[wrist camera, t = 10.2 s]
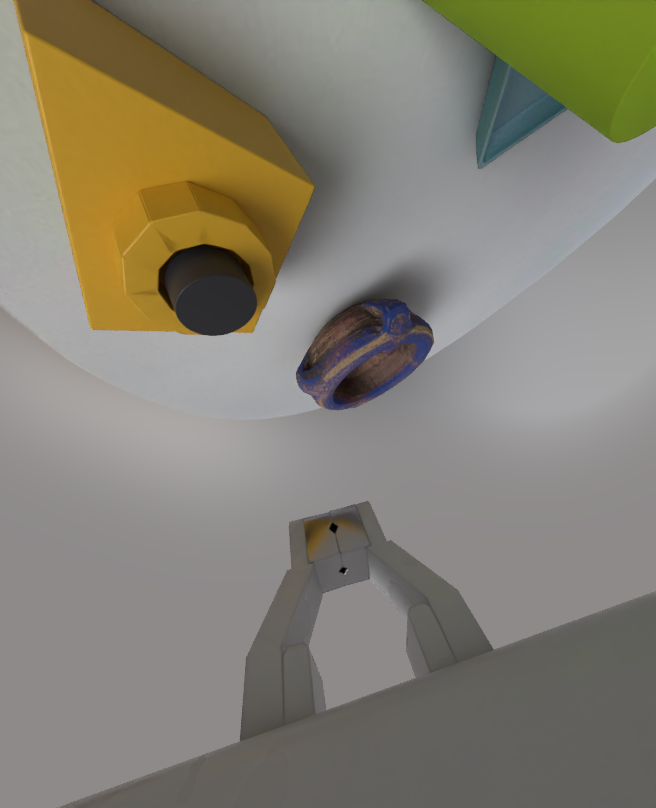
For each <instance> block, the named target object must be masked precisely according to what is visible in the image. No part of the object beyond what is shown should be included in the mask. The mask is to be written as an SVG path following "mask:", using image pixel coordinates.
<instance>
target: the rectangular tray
mask: <svg viewBox="0 0 656 808" xmlns="http://www.w3.org/2000/svg"><path fill="white" fill-rule="evenodd" d="M567 109H568V108H566V107H565V106H564V105H562V104H561V103H560V102H558V101H557V100H556V99H554V98H553V97H552V96H550V95H549V94H548V93H546V92H545V91H543V90H542V89H541V88H539V87H538V86H537V85H535V84H534V83H533V82H531V81H530V80H529V79H527V78H526V77H525V76H523V75H522V74H521V73H519V72H518V71H517V70H515V69H514V68H512V67H511V66H510V65H508V64H507V63H506V62H504V61H503V60H502V59H500V58H499V57H498V56H496V59H495V63H494V67H493V71H492V75H491V79H490V82H489V86H488V90H487V94H486V98H485V102H484V105H483V109H482V113H481V117H480V120H479V124H478V128H477V132H476V155H477V164H478V168H479V169H481V168H483V167H484V166H486V165H487V164H488V163H490V162H491V161H493V160H494V159H496V158H497V157H498V156H500V155H501V154H503V153H504V152H506V151H507V150H508V149H510V148H511V147H513V146H514V145H516V144H517V143H519V142H520V141H521V140H523V139H524V138H526V137H527V136H529V135H530V134H532V133H533V132H535V131H536V130H537V129H539V128H540V127H542V126H543V125H545V124H546V123H548V122H549V121H551V120H552V119H553V118H555V117H556V116H558V115H559V114H561V113H562V112H564V111H565V110H567Z"/></svg>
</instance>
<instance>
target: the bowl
mask: <svg viewBox="0 0 656 808" xmlns="http://www.w3.org/2000/svg"><path fill="white" fill-rule="evenodd" d="M433 343H434V339H433V332H432V329H431V327H430V326H429V324H428V323H427V322H425V321H424V320H423V319H422V318H420V317H419V316H417V315H415V314H414V313H413V312H412V311H410V310H409V309H408V308H407V306H406V303H403V302H401V301H399V300H390V299H379V300H370V301H367V302H364V303H363V304H359V305H355V306H353V307H351V308H350V309H348V310H346V311H345V312H343V313H341V314H339V315H338V316H336V317H335V318H334V319H332V320H331V321H330V322H329V323H327V324H326V325H325V327H324V328H323V329H322V330H321V332H320V333H319V334H318V336H317V337H316V338H315V340H314V342H313V343H312V345H311V346H310V348H309V349H308V351H307V353H306V355H305V356H304V358H303V360H302V362H301V364H300V366H299V367H298V369H297V372H296V379H297V383H298V385H299V387H300V388H301V390H302V391H303V392H305V393H307V394H309V395H311V396H312V397H313V398H314V400H315V401H316V403H317V404H318V405H319V406H321V407H323V408H325V409H328V410H342V409H348V408H355V407H358V406H360V405H362V404H364V403H366V402H368V401H370V400H372V399H374V398H376V397H377V396H379V395H381V394H383V393H384V392H386V391H388V390H389V389H391V388H392V387H394V386H395V385H397V384H398V383H399V382H401V381H402V380H404V379H405V378H406V377H407V376H408V375H410V374H411V373H412V372H413V371H414V370H415V369H416V368H417V367H418V366H419V365H420V364H421V363H422V362H423V361H424V360H425V358H426V356H427V355H428V353H429V351H430V349H431V347H432V345H433Z"/></svg>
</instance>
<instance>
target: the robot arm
mask: <svg viewBox="0 0 656 808" xmlns="http://www.w3.org/2000/svg"><path fill="white" fill-rule="evenodd" d="M289 536H290V551H291V565H292V566H291V567H292V569H290V570H287V572H286V574H285V576H284V579H283V581H282V583H281V585H280V587H279V589H278V591H277V593H276V595H275V598H274V600H273V602H272V604H271V606H270V608H269V610H268V613H267V615H266V617H265V619H264V621H263V623H262V625H261V628H260V630H259V632H258V634H257V636H256V638H255V640H254V642H253V645H252V647H251V649H250V651H249V653H248V655H247V657H246V667H245V681H244V694H243V707H242V720H241V734H240V742H237V743H235V744H232V745H229V746H226V747H224V748H221V749H218V750H215V751H213V752H210V753H207V754H204V755H202V756H199V757H196V758H193V759H190V760H188V761H185V762H182V763H179V764H176V765H174V766H171V767H168V768H166V769H163V770H160V771H157V772H154V773H152V774H149V775H146V776H143V777H141V778H138V779H135V780H132V781H129V782H127V783H124V784H121V785H118V786H116V787H113V788H110V789H107V790H105V791H102V792H99V793H97V794H94V795H91V796H88V797H85V798H83V799H80V800H77V801H74V802H71V803H69V804H66V805H63V806H60V807H58V808H656V591H655V592H652V593H649V594H647V595H644V596H641V597H639V598H636V599H633V600H630V601H628V602H625V603H622V604H619V605H616V606H613V607H611V608H608V609H605V610H602V611H600V612H597V613H594V614H591V615H589V616H586V617H583V618H580V619H578V620H575V621H572V622H569V623H566V624H564V625H561V626H558V627H555V628H553V629H550V630H547V631H544V632H542V633H539V634H536V635H533V636H531V637H528V638H525V639H522V640H520V641H517V642H514V643H511V644H508V645H506V646H503V647H500V648H497V649H495V650H494V649H493V648H492V646H491V644H490V643H489V641H488V640H487V638H486V636H485V635H484V633H483V631H482V629H481V628H480V626H479V624H478V623H477V621H476V619H475V618H474V616H473V615H472V613H471V611H470V609H469V608H468V606H467V604H466V603H465V601H464V599H463V598H462V596H461V594H460V593H459V591H458V590H457V589H456V588H454V587H453V586H452V585H450V584H449V583H448V582H446V581H445V580H444V579H442V578H441V577H440V576H438V575H437V574H436V573H434V572H433V571H432V570H430V569H429V568H427V567H426V566H425V565H423V564H422V563H421V562H419V561H418V560H417V559H415V558H414V557H413V556H411V555H410V554H409V553H407V552H406V551H405V550H403V549H402V548H401V547H399V546H398V545H397V544H395V543H394V542H393V541H391V540H390V541H386V538H385V536H384V534H383V532H382V529H381V527H380V525H379V523H378V520H377V518H376V516H375V513H374V512H373V509H372V507H371V504H370V503H369V502H368V501H366V502H363V503H359V504H356V505H351V506H347V507H344V508H340V509H337V510H333V511H330V512H328V513H324V514H319V515H315V516H311V517H307V518H303V519H299V520H295V521H292V522H289ZM368 579H370V581H371V582H372V583H373V584H374V585H375V586H376V587H377V588H378V589H379V590H380V591H381V592H382V593H383V594H384V596H385V597H386V598H387V599H388V600H389V601H390V602H391V603H392V604H393V605H394V606H395V607H396V608H397V609H398V610H399V611H400V612H401V614H402V615H403V616H404V617H405V618H406V619H407V641H406V642H407V643H406V652H407V655H408V657H409V660H410V663H411V666H412V669H413V671H414V674H415V677H416V678H414V679H412V680H409V681H407V682H404V683H401V684H398V685H395V686H392V687H390V688H387V689H384V690H381V691H378V692H376V693H373V694H370V695H367V696H365V697H362V698H359V699H357V700H354V701H351V702H348V703H345V704H342V705H340V706H337V707H334V708H331V709H329V710H326V704H325V697H324V691H323V683H322V678H321V676H320V674H319V671H318V669H317V666H316V664H315V661H314V659H313V656H312V654H311V652H310V649H309V647H308V646H309V642H310V639H311V636H312V632H313V628H314V625H315V621H316V618H317V614H318V610H319V607H320V603H321V600H322V596H323V595H322V594H323V593H325V592H328V591H331V590H334V589H337V588H340V587H343V586H346V585H350V584H353V583H357V582H361V581H364V580H368Z"/></svg>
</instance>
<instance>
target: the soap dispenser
mask: <svg viewBox="0 0 656 808" xmlns="http://www.w3.org/2000/svg"><path fill="white" fill-rule="evenodd" d="M422 1H423V2H425V3H426V4H428V5H429V6H430V7H432V8H433V9H434V10H436V11H437V12H438V13H440V14H441V15H442V16H444V17H445V18H446V19H448V20H449V21H450V22H452V23H453V24H454V25H456V26H457V27H459V28H460V29H461V30H463V31H464V32H465V33H467V34H468V35H469V36H471V37H472V38H473V39H475V40H476V41H477V42H479V43H480V44H481V45H483V46H484V47H485V48H487V49H488V50H490V51H491V52H492V53H494V54H495V55H496V56H498V57H499V58H500V59H502V60H503V61H504V62H506V63H507V64H508V65H510V66H511V67H512V68H514V69H515V70H517V71H518V72H519V73H521V74H522V75H523V76H525V77H526V78H527V79H529V80H530V81H531V82H533V83H534V84H535V85H537V86H538V87H539V88H541V89H542V90H543V91H545V92H546V93H548V94H549V95H550V96H552V97H553V98H554V99H556V100H557V101H558V102H560V103H561V104H562V105H564V106H565V107H566V108H568V109H569V110H570V111H572V112H573V113H574V114H576V115H577V116H579V117H580V118H581V119H583V120H584V121H585V122H587V123H588V124H589V125H591V126H592V127H593V128H595V129H596V130H597V131H599V132H600V133H601V134H603V135H604V136H605V137H607V138H608V139H610V140H611V141H613V142H615V143H621V142H626V141H629V140H631V139H634V138H636V137H638V136H640V135H642V134H643V133H645V132H647V131H649V130H650V129H652V128H653V127H655V126H656V0H422Z"/></svg>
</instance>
